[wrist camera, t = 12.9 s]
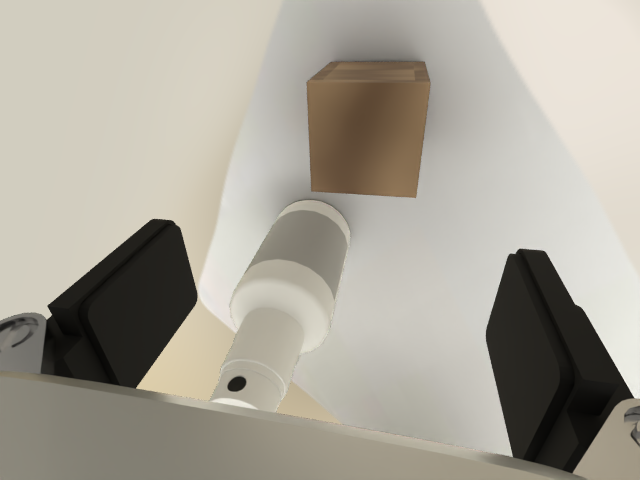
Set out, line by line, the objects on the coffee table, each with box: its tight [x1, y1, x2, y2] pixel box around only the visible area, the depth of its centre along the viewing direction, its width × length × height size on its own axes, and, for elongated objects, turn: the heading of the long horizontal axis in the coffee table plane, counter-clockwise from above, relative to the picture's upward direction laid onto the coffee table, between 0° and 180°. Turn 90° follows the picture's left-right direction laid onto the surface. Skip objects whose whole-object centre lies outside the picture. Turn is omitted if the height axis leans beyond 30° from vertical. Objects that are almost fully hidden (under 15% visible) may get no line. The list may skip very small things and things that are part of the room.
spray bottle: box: [209, 200, 351, 413], centre depth 26 cm, size 7×7×18 cm
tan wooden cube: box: [307, 62, 430, 198], centre depth 23 cm, size 6×6×7 cm
